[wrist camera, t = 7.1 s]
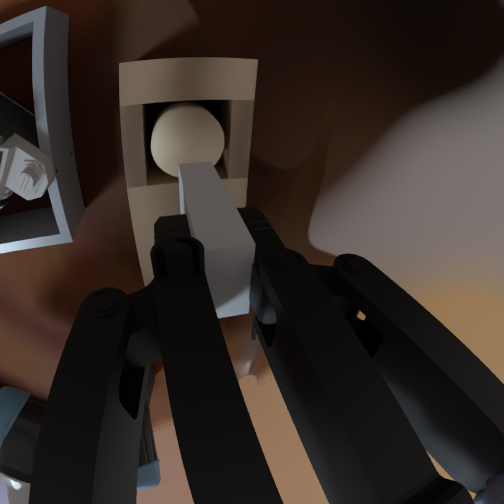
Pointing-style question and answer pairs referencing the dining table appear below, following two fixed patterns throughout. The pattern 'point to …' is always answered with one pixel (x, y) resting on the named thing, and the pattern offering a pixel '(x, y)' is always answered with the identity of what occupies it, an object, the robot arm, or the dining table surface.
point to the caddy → (47, 133)
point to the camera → (21, 154)
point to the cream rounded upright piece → (185, 135)
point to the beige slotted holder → (180, 89)
